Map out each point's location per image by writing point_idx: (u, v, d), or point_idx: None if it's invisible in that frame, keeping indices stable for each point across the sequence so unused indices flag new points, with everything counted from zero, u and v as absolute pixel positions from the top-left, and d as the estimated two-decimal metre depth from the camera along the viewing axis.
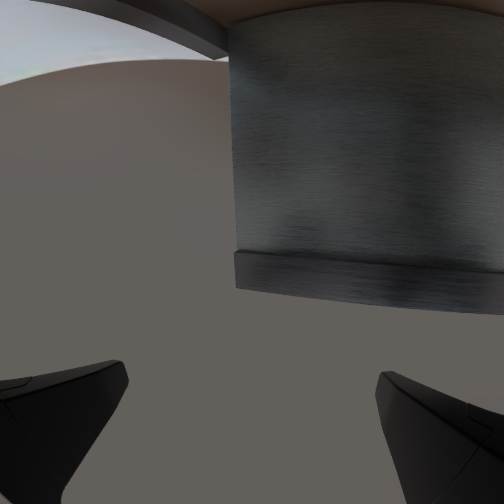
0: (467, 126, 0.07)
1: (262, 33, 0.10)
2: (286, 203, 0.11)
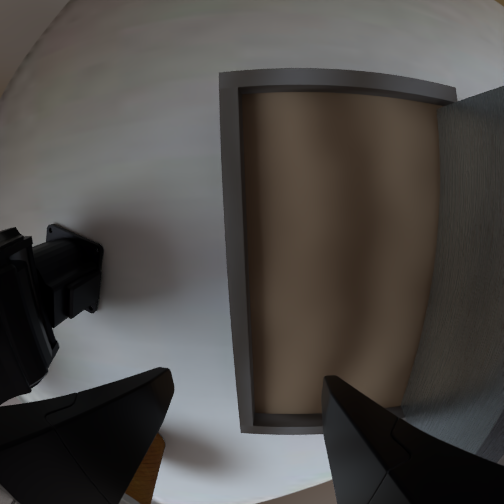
0: (463, 344, 0.12)
1: (408, 398, 0.18)
2: None
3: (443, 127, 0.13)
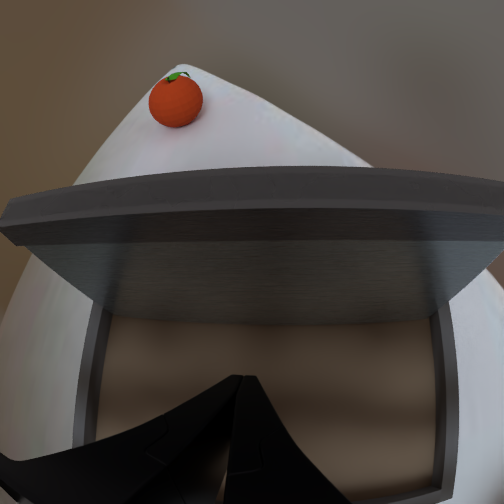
0: (294, 294, 0.14)
1: (410, 316, 0.16)
2: (458, 260, 0.10)
3: (124, 313, 0.19)
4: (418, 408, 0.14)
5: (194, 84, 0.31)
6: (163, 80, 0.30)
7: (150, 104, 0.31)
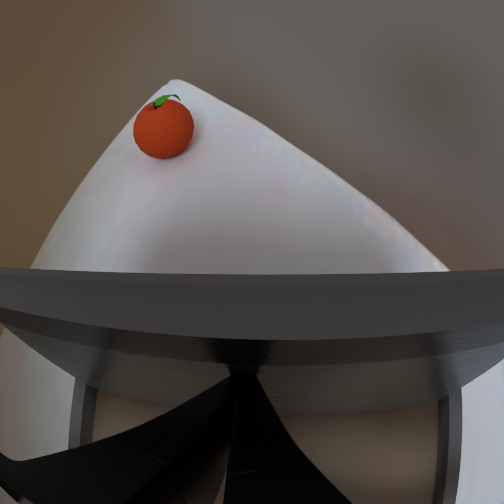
0: (293, 398, 0.11)
1: (420, 402, 0.13)
2: (481, 357, 0.08)
3: (107, 391, 0.16)
4: (416, 490, 0.11)
5: (183, 110, 0.28)
6: (149, 105, 0.27)
7: (134, 133, 0.28)
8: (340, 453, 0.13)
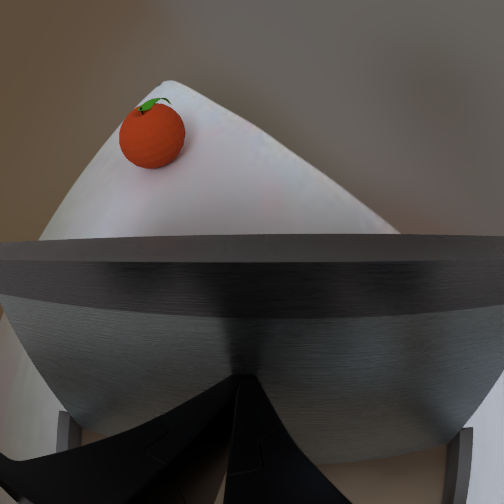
0: (293, 417, 0.10)
1: (431, 442, 0.11)
2: (486, 345, 0.07)
3: (90, 426, 0.13)
4: None
5: (173, 115, 0.25)
6: (135, 110, 0.25)
7: (120, 142, 0.25)
8: None
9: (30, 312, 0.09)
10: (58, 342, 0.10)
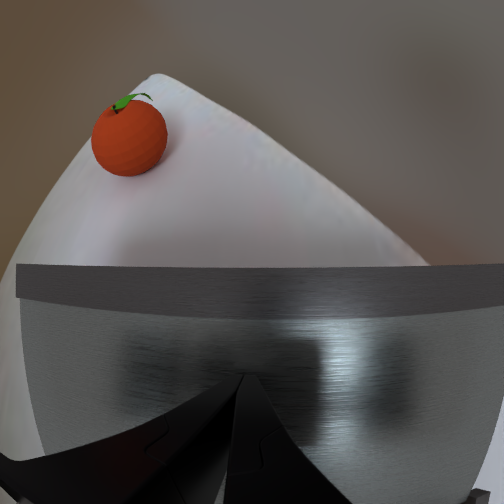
0: None
1: (445, 498, 0.07)
2: (474, 360, 0.08)
3: None
4: None
5: (152, 113, 0.21)
6: (109, 109, 0.20)
7: (92, 146, 0.21)
8: None
9: (50, 323, 0.10)
10: (67, 357, 0.10)
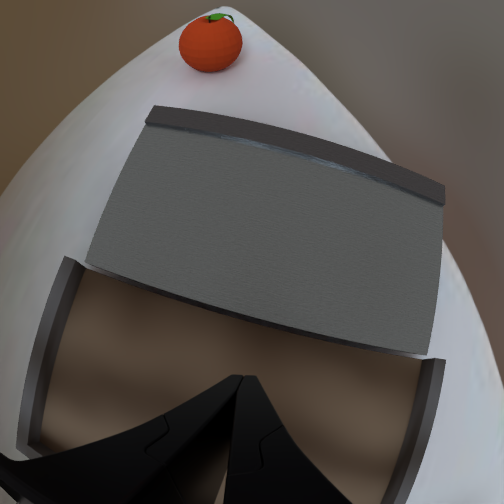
0: (310, 235, 0.17)
1: (410, 336, 0.15)
2: (417, 222, 0.17)
3: (104, 256, 0.16)
4: (380, 459, 0.13)
5: (237, 31, 0.24)
6: (203, 18, 0.23)
7: (181, 40, 0.24)
8: (320, 399, 0.15)
9: (170, 138, 0.18)
10: (176, 158, 0.18)
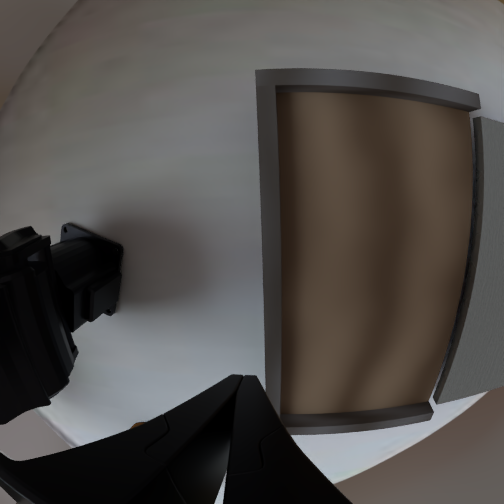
0: None
1: (451, 388, 0.18)
2: None
3: (490, 137, 0.13)
4: (356, 400, 0.20)
5: None
6: None
7: None
8: (412, 342, 0.18)
9: None
10: None
